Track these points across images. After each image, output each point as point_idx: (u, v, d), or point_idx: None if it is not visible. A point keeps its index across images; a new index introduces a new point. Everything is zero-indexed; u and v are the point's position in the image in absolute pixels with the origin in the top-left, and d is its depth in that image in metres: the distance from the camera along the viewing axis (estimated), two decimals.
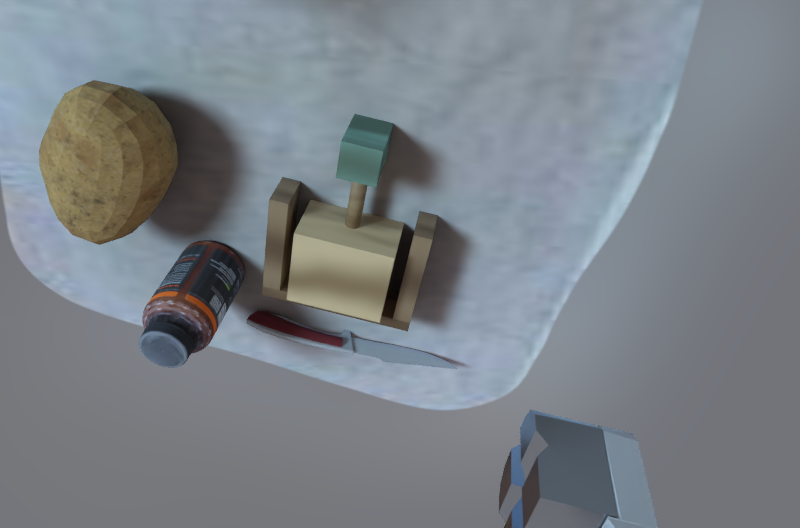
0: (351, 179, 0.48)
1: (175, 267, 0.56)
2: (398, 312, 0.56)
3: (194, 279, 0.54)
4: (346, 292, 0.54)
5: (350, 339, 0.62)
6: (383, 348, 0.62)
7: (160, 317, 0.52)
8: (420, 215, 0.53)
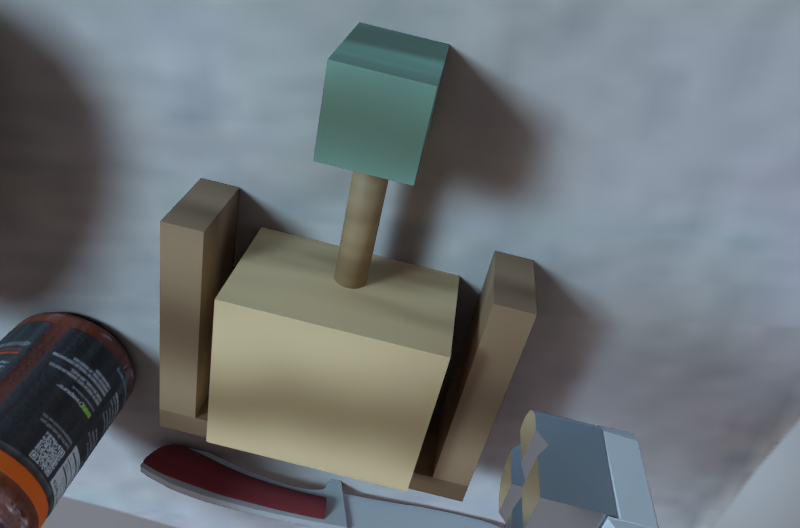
0: (352, 165, 0.19)
1: None
2: (445, 465, 0.26)
3: (1, 399, 0.25)
4: (336, 429, 0.24)
5: (341, 500, 0.32)
6: (404, 517, 0.32)
7: None
8: (499, 259, 0.25)
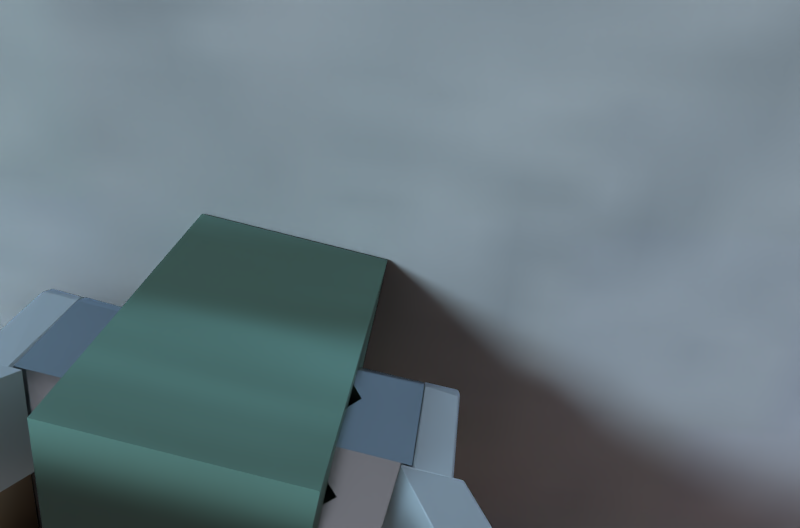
0: None
1: None
2: None
3: None
4: None
5: None
6: None
7: None
8: None
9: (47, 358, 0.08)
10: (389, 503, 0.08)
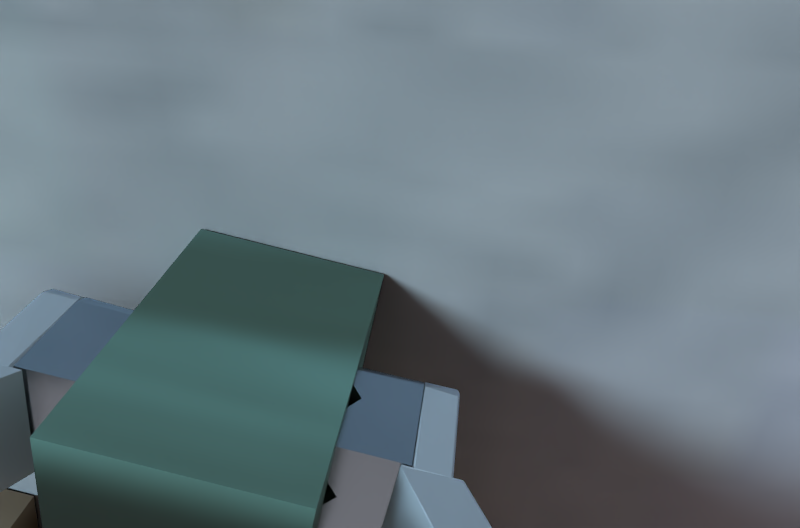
0: None
1: None
2: None
3: None
4: None
5: None
6: None
7: None
8: None
9: (46, 357, 0.08)
10: (390, 503, 0.08)
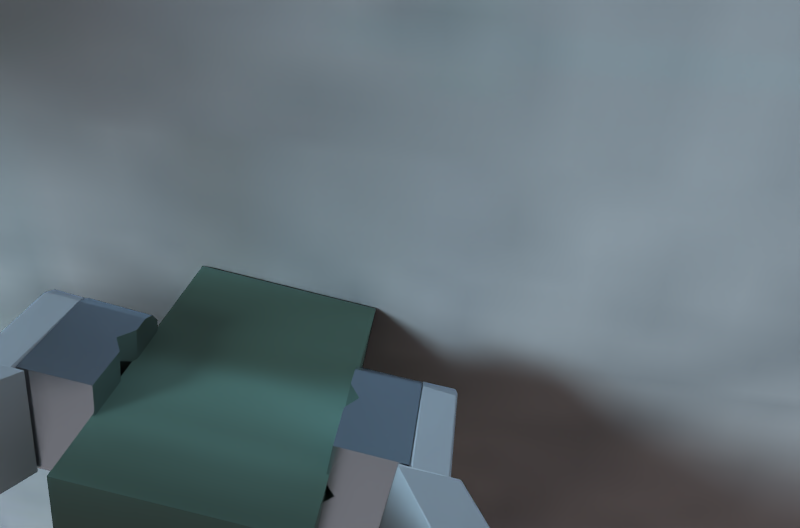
0: None
1: None
2: None
3: None
4: None
5: None
6: None
7: None
8: None
9: (49, 359, 0.08)
10: (387, 503, 0.08)
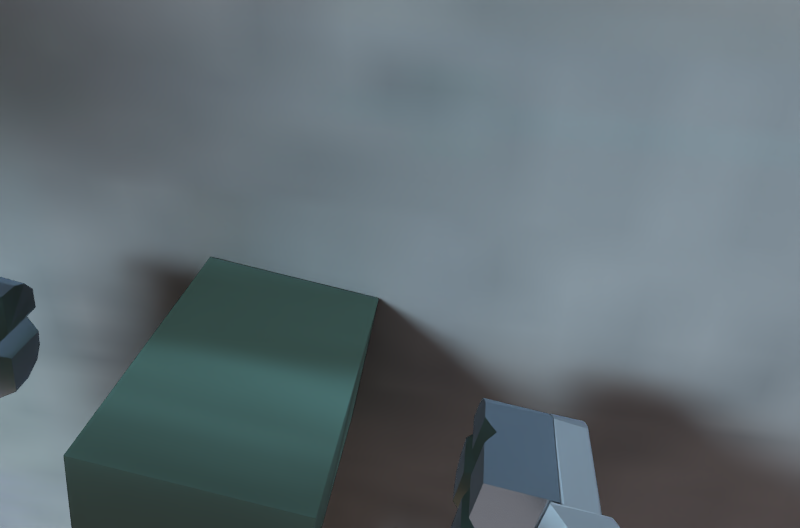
0: None
1: None
2: None
3: None
4: None
5: None
6: None
7: None
8: None
9: None
10: None
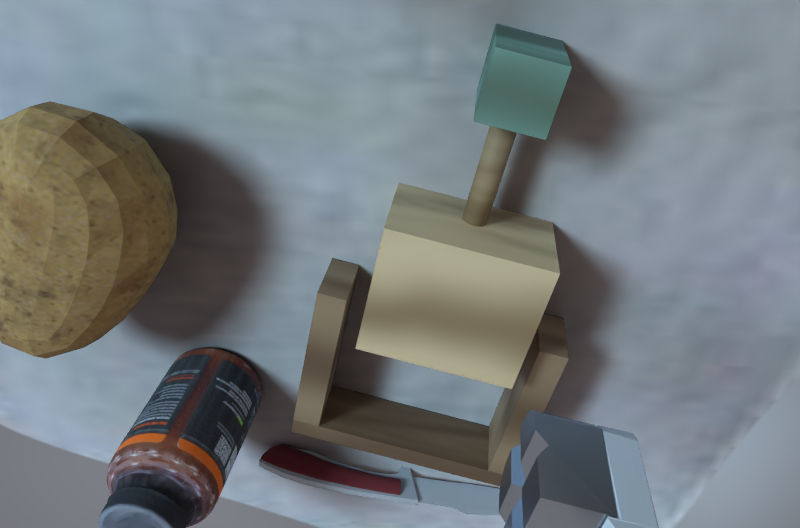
0: (502, 124, 0.26)
1: (162, 390, 0.37)
2: (498, 462, 0.37)
3: (191, 412, 0.35)
4: (462, 335, 0.31)
5: (411, 481, 0.43)
6: (460, 492, 0.43)
7: (136, 477, 0.33)
8: None
9: None
10: None
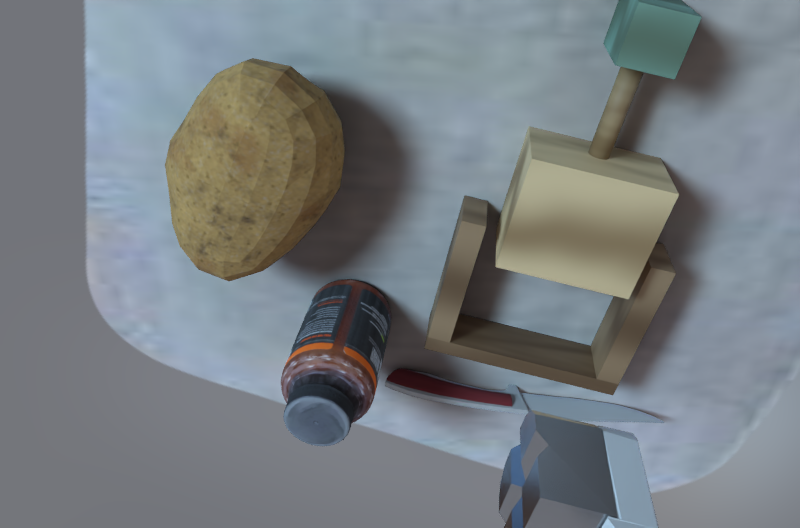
0: (638, 67, 0.32)
1: (316, 312, 0.43)
2: (606, 370, 0.43)
3: (348, 327, 0.42)
4: (590, 252, 0.37)
5: (519, 395, 0.49)
6: (562, 404, 0.48)
7: (312, 377, 0.39)
8: None
9: None
10: None
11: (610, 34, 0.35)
